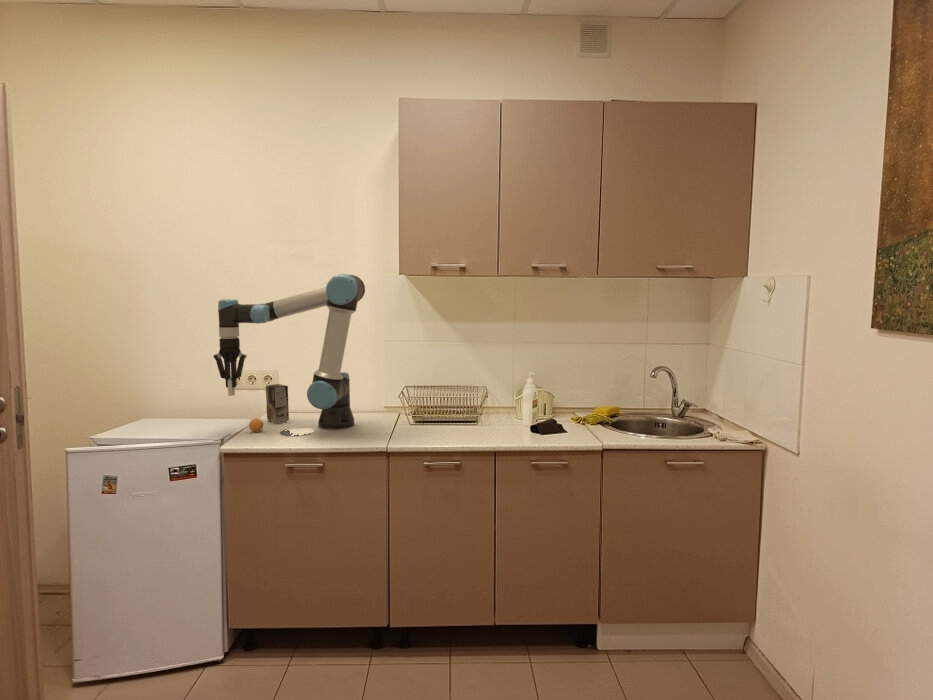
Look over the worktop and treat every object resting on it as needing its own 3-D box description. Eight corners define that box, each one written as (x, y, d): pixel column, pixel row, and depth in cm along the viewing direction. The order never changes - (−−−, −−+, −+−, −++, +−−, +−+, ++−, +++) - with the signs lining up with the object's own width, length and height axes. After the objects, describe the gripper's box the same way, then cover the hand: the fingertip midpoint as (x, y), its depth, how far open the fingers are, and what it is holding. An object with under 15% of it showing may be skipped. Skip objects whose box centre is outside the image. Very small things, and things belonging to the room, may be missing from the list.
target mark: (319, 428, 245) (319, 427, 245) (309, 436, 231) (309, 435, 231) (286, 427, 245) (286, 427, 245) (274, 436, 231) (274, 435, 231)
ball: (265, 430, 241) (265, 417, 241) (260, 433, 236) (259, 420, 235) (252, 430, 242) (252, 417, 241) (247, 433, 236) (246, 420, 236)
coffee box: (289, 422, 256) (288, 385, 255) (275, 424, 252) (274, 387, 250) (280, 418, 263) (278, 383, 261) (266, 421, 259) (265, 385, 257)
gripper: (249, 337, 239) (251, 393, 241) (217, 336, 239) (220, 393, 242) (241, 338, 231) (243, 397, 234) (209, 338, 232) (211, 396, 234)
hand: (231, 395), depth 238 cm, fingers closed
